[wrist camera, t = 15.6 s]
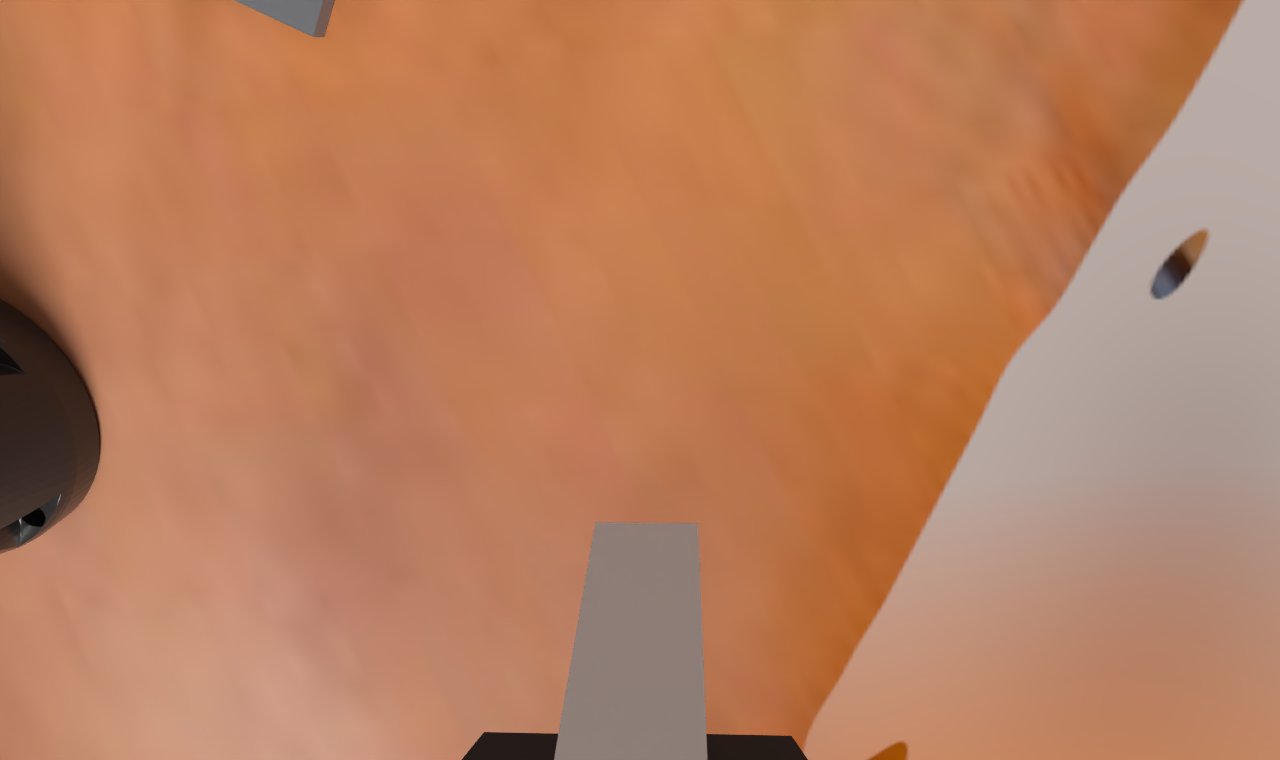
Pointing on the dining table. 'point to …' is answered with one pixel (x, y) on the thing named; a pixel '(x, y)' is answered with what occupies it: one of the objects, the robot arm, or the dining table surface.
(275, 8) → the switch block
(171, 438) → the dining table surface
